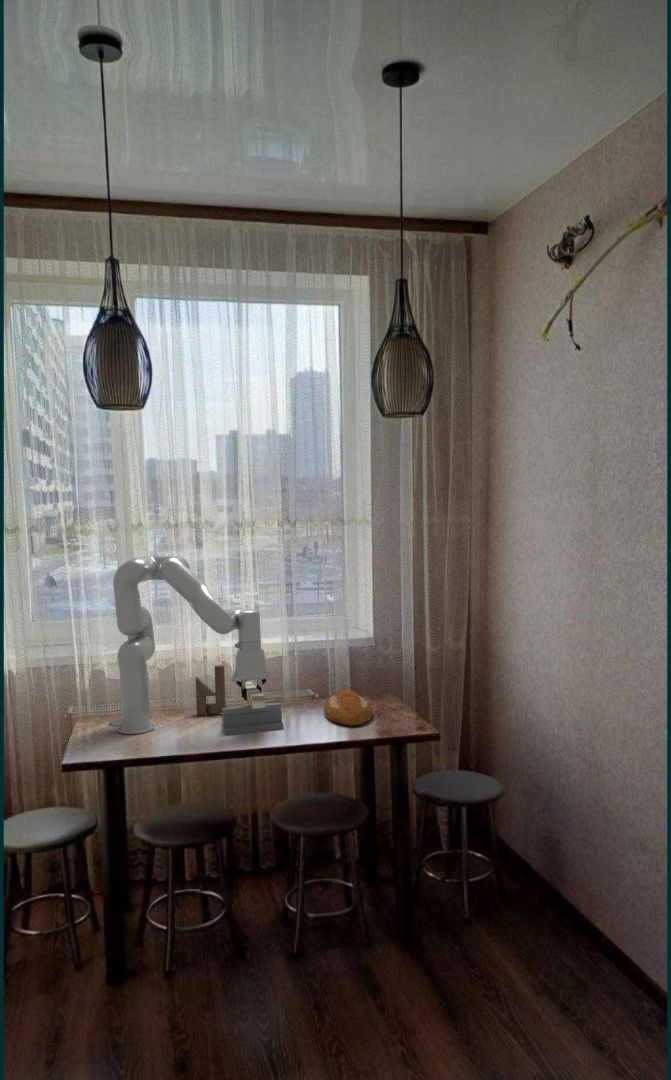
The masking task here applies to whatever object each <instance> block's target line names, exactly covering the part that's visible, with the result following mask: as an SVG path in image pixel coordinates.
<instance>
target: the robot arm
mask: <svg viewBox="0 0 671 1080" xmlns="http://www.w3.org/2000/svg"><path fill="white" fill-rule="evenodd" d="M155 580H157V581H165V582H166V583H167V584H168V585H169V586H171V588H172V589H174V590H175V591H176V593H178V594H179V595H180V596H181V597H182V598H183V599H184V600H185V601H187V603H188V604H189V606H190V607H191V608H192V610H193V611H194V612H195V614H196V615H197V616H198V617H199V618H200V619H201V620H202V621H203V622H204V623H205V624H206V625H207V626H208V627H209V628H210V629H212V631H213V632H215V633H217V634H220V635H227V634H230V633H231V632H232V631H235V630H237V631H238V635H237V637H238V641H237V643H234V648H237V649H238V650H236V656H235V671H234V673H233V674H232V677H231V678H230V681H231V682H232V683H234V684H236V685H237V686H238V687H239V688H240V687H241V691H242V695H241V698H243V700H244V701H246V700H247V689H246V687H245V685H246V682H247V681H254V680H256V688H257V689H259V690H260V691H261V692H262V691H263V690H262V687H263V686H264V685H265V684H266V682H267V681H268V680H270V679H271V678H272V675H271V674H270V672H269V671H268V670H267V662H266V655H265V650H264V649H263V648H262V640H261V639H262V638H261V614H260V612H259V610H258V609H252V608H251V609H250V608H249V609H241V610H240V609H234V608H232V609H231V608H226V609H223V608H222V607H221V606H220V605H219V604H218V603H217V602H216V601H215V600H214V599H213V598H212V596H211V595H210V592H209V588H208V586H207V584H206V583H205V581H203V580H202V579H201V578H200V577H198V576H197V574H195V573H194V572H193V571H192V570H191V567H190V564H189V562H188V560H187V559H186V558H185V557H182V556H180V555H169V556H168V555H167V556H166V555H165V556H164V555H162V556H160V555H156V556H154V555H151V556H150V555H149V556H148V555H146V556H141V557H138V556H137V557H135V558H131V559H129V560H127V561H126V562H124V563H122V564H121V565H120V566H119V567H118V568H117V569H116V571H115V574H114V576H113V583H112V585H113V594H114V607H115V613H116V615H115V616H116V626H117V628H118V631H119V632H120V633H121V634H122V635H124V636H127V640H126V641H125V642H123V643H122V644H121V645H120V647H119V648H118V651H117V657H116V658H117V664H118V670H119V681H120V702H121V703H120V704H121V716H120V718H117V719H109V720H108V721H107V723H108V727H113V728H114V727H117V733H119V732H120V733H119V734H122V735H137V734H138V735H139V734H144V733H149V732H151V731H154V730H155V728H156V725H155V724H154V723H153V722H151V716H150V715H151V714H150V713H151V712H150V711H151V710H150V685H149V684H150V683H149V671H148V666H147V661H149V660H150V659H151V658H153V655H154V654H155V648H156V645H155V644H156V642H155V636H154V635H155V634H154V633H155V632H154V625H153V619H152V615H151V613H150V611H149V609H148V608H146V607H145V606H144V605H143V606H142V604H141V594H140V591H139V588H138V587H139V586H138V585H139V584H140V583H142V582H146V581H147V582H148V581H155ZM262 693H263V692H262Z"/></svg>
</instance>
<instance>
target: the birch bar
mask: <svg viewBox="0 0 671 1080" xmlns="http://www.w3.org/2000/svg"><path fill="white" fill-rule="evenodd" d="M245 687H246V689H247V700H245V702H246V703H248V706H251V707H252V708H253V709H256V708H265V704H266V695H265V694H264V693H263V692H261V691H260V690H259V689H257V688H256V687H257V685H255V684H254V683H253V682H252V680H249V681H246V685H245ZM239 695H240V696H242V691H241V687H240V686H239Z"/></svg>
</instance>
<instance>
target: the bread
mask: <svg viewBox="0 0 671 1080" xmlns="http://www.w3.org/2000/svg"><path fill="white" fill-rule="evenodd" d="M373 711H374V710H373V706H372V705H371V704H370V702H369V701H368V700H367V699H365V698H364V697H362V696H360V694H358V693H356V692H355V691H353V690H350V689H346V688H345V689H340V690H339V691H337V693H335V694H332V695H330V697H329V698H328V699H327V700H326V702H325V704H324V706H323V714H324V716H325V718H327V719H328V720H331V721H333V722H335V723H338V724H340V725H346V726H351V727H352V726H354V727H355V726H359V725H363V724H364V723H366V722H368V721H369V720H370V719H371V718H372V716H373V713H374V712H373Z"/></svg>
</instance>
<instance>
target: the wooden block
mask: <svg viewBox="0 0 671 1080" xmlns="http://www.w3.org/2000/svg"><path fill="white" fill-rule="evenodd" d="M224 665H225V664H216V665H214V691H213V690H212V689H211V688H210V687H209V685H207V684H206V683H204V681H202V680H201V679H200V678H199V677H198V676H197V675H196V676H195V695H196V698H195V701H196V716H197V715H205V714H207V713H208V714H207V715H209V714H219V715H221V714H220V713H222V708H227V704H226V683H225V682H226V680H225V666H224ZM207 697H215V703H214V702H213V703H207Z"/></svg>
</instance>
